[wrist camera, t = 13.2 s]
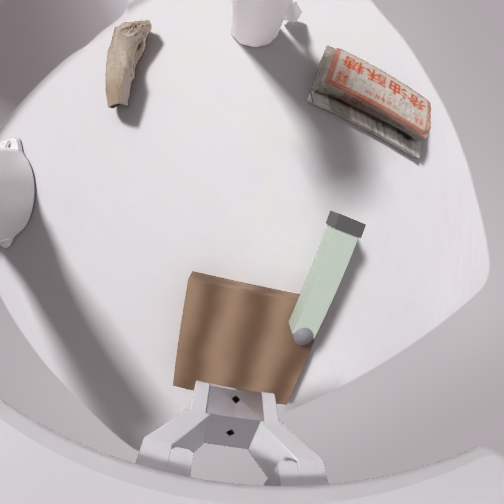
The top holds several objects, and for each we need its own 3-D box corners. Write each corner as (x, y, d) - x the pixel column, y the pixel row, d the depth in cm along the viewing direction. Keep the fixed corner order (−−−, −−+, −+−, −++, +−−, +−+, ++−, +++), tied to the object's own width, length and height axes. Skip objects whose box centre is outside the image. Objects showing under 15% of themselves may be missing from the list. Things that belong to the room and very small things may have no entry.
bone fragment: (119, 32, 27) (107, 19, 23) (158, 28, 28) (149, 13, 23) (99, 112, 31) (83, 106, 26) (139, 110, 31) (126, 102, 27)
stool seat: (176, 373, 41) (173, 385, 38) (192, 271, 37) (188, 278, 34) (284, 392, 42) (286, 404, 39) (320, 298, 38) (326, 307, 35)
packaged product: (313, 93, 27) (334, 33, 25) (304, 103, 32) (324, 48, 30) (433, 158, 29) (445, 99, 27) (413, 159, 34) (426, 105, 32)
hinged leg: (306, 334, 36) (312, 347, 33) (283, 328, 36) (287, 341, 32) (354, 220, 33) (365, 224, 29) (330, 210, 32) (340, 214, 29)
